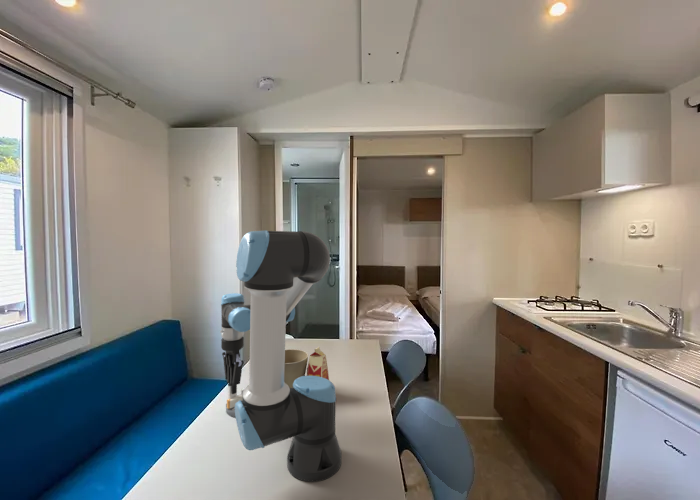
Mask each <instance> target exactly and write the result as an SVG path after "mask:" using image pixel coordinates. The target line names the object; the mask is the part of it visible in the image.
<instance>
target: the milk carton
mask: <svg viewBox="0 0 700 500" xmlns="http://www.w3.org/2000/svg"><path fill="white" fill-rule="evenodd" d="M306 376H319V377H323V378H326V379H328V380H329V381H330V375H329V367H328V360H327V356H326V354H325V353H324V352H323V351H322V350H321V349H320V346H317V347H316V348H314V352H313V353H311V354H310V355H309V357H308V362H307V367H306Z"/></svg>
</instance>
